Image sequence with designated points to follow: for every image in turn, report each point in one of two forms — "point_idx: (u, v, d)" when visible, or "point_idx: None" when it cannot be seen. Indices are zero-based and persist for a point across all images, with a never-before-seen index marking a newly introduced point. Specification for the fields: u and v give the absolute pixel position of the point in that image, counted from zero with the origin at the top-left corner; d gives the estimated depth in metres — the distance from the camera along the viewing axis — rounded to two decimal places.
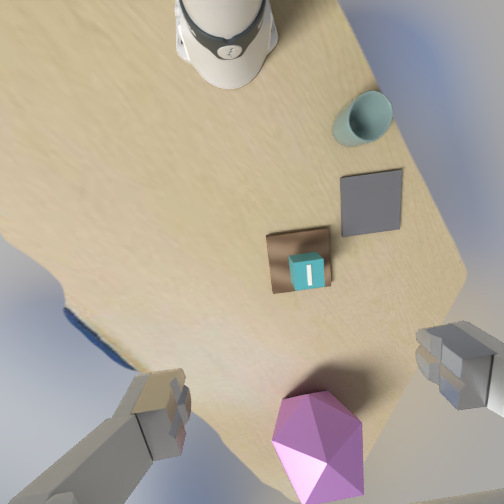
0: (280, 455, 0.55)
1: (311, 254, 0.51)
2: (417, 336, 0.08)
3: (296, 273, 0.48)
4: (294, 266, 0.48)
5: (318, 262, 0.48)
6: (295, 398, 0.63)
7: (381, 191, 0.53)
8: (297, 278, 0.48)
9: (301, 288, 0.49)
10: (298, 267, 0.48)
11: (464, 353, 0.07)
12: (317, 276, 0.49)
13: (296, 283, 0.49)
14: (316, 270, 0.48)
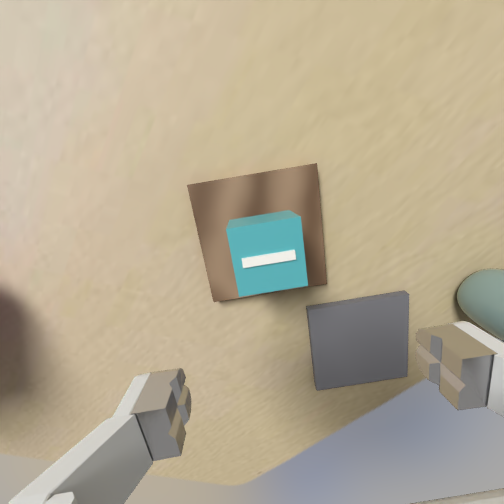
0: None
1: None
2: (417, 336, 0.08)
3: (272, 227, 0.19)
4: (291, 220, 0.19)
5: (299, 276, 0.21)
6: None
7: (379, 355, 0.33)
8: (259, 230, 0.19)
9: (232, 243, 0.20)
10: (288, 230, 0.19)
11: (464, 353, 0.07)
12: (264, 277, 0.20)
13: (245, 229, 0.19)
14: (279, 273, 0.20)
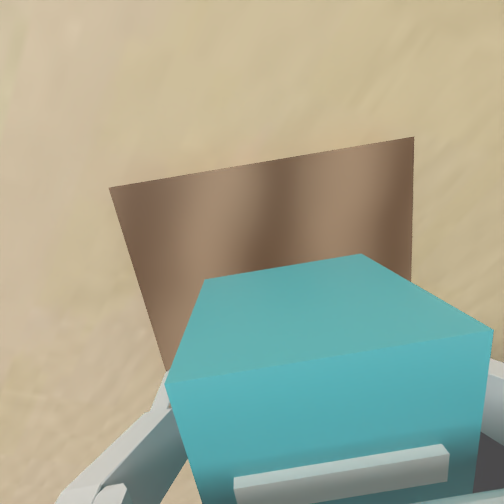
0: None
1: None
2: None
3: (367, 371, 0.04)
4: (448, 345, 0.04)
5: None
6: None
7: None
8: (309, 386, 0.05)
9: (195, 432, 0.05)
10: (430, 382, 0.05)
11: None
12: None
13: (251, 383, 0.04)
14: None
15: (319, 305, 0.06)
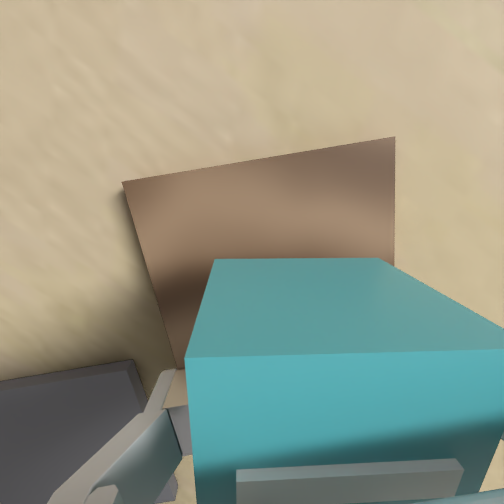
0: None
1: None
2: None
3: (402, 374, 0.04)
4: (490, 357, 0.04)
5: None
6: None
7: (50, 484, 0.18)
8: (340, 381, 0.04)
9: (207, 415, 0.04)
10: (461, 394, 0.04)
11: None
12: None
13: (280, 369, 0.04)
14: None
15: (345, 300, 0.06)
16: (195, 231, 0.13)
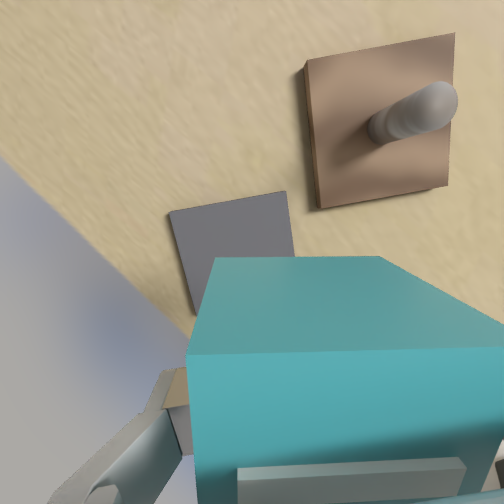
0: None
1: None
2: None
3: (405, 371, 0.04)
4: (493, 355, 0.04)
5: None
6: None
7: None
8: (342, 379, 0.04)
9: (208, 413, 0.04)
10: (464, 392, 0.04)
11: None
12: None
13: (281, 367, 0.04)
14: None
15: (347, 298, 0.06)
16: (342, 91, 0.24)
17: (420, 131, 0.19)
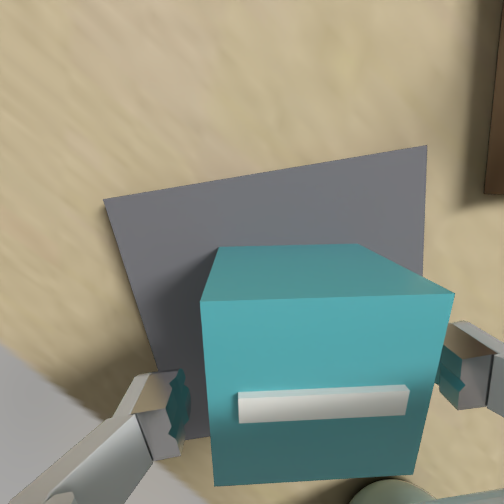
0: None
1: None
2: None
3: (357, 314, 0.06)
4: (420, 301, 0.06)
5: (397, 451, 0.07)
6: None
7: None
8: (311, 320, 0.06)
9: (216, 346, 0.06)
10: (403, 330, 0.06)
11: (464, 353, 0.07)
12: (298, 446, 0.07)
13: (267, 310, 0.06)
14: (344, 440, 0.07)
15: (322, 270, 0.07)
16: None
17: None
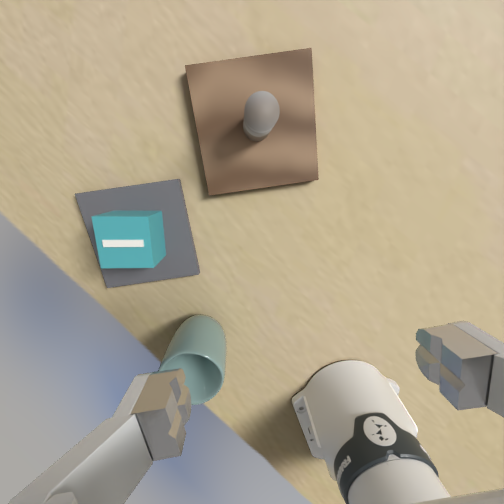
0: None
1: (162, 247, 0.32)
2: (417, 336, 0.08)
3: (126, 220, 0.27)
4: (140, 218, 0.27)
5: (147, 259, 0.28)
6: None
7: None
8: (116, 221, 0.27)
9: (96, 227, 0.27)
10: (138, 225, 0.27)
11: (464, 353, 0.07)
12: (120, 256, 0.28)
13: (106, 219, 0.26)
14: (132, 255, 0.28)
15: (130, 214, 0.28)
16: (217, 93, 0.27)
17: (256, 131, 0.23)
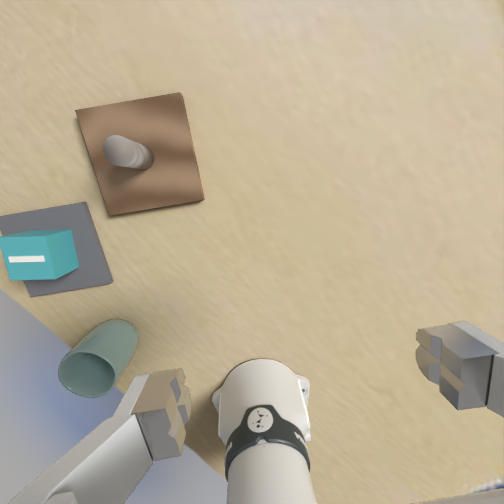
0: None
1: (73, 261, 0.37)
2: (417, 336, 0.08)
3: (27, 240, 0.32)
4: (39, 237, 0.32)
5: (49, 272, 0.33)
6: None
7: None
8: (19, 241, 0.32)
9: (2, 246, 0.32)
10: (38, 243, 0.32)
11: (464, 353, 0.07)
12: (26, 270, 0.33)
13: (10, 239, 0.32)
14: (36, 269, 0.33)
15: (35, 233, 0.33)
16: (105, 131, 0.33)
17: None
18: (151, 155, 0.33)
